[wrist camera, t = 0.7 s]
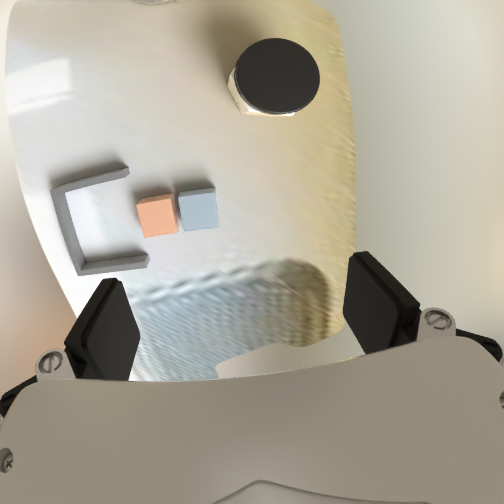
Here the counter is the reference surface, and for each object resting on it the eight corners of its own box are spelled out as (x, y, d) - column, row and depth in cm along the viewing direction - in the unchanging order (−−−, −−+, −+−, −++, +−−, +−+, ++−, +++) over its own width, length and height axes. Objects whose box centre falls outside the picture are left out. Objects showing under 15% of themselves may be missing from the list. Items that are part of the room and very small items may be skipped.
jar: (254, 48, 29) (270, 20, 18) (302, 81, 32) (337, 68, 21) (216, 97, 32) (215, 87, 21) (266, 129, 35) (287, 134, 24)
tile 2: (141, 198, 37) (135, 204, 35) (173, 192, 38) (170, 198, 35) (148, 229, 40) (144, 237, 37) (179, 224, 40) (177, 232, 37)
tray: (58, 185, 34) (50, 190, 32) (128, 167, 35) (122, 170, 32) (83, 268, 41) (78, 276, 39) (149, 259, 42) (146, 267, 39)
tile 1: (180, 191, 38) (177, 197, 35) (215, 187, 38) (215, 192, 35) (185, 223, 40) (183, 231, 37) (219, 219, 40) (219, 227, 38)
